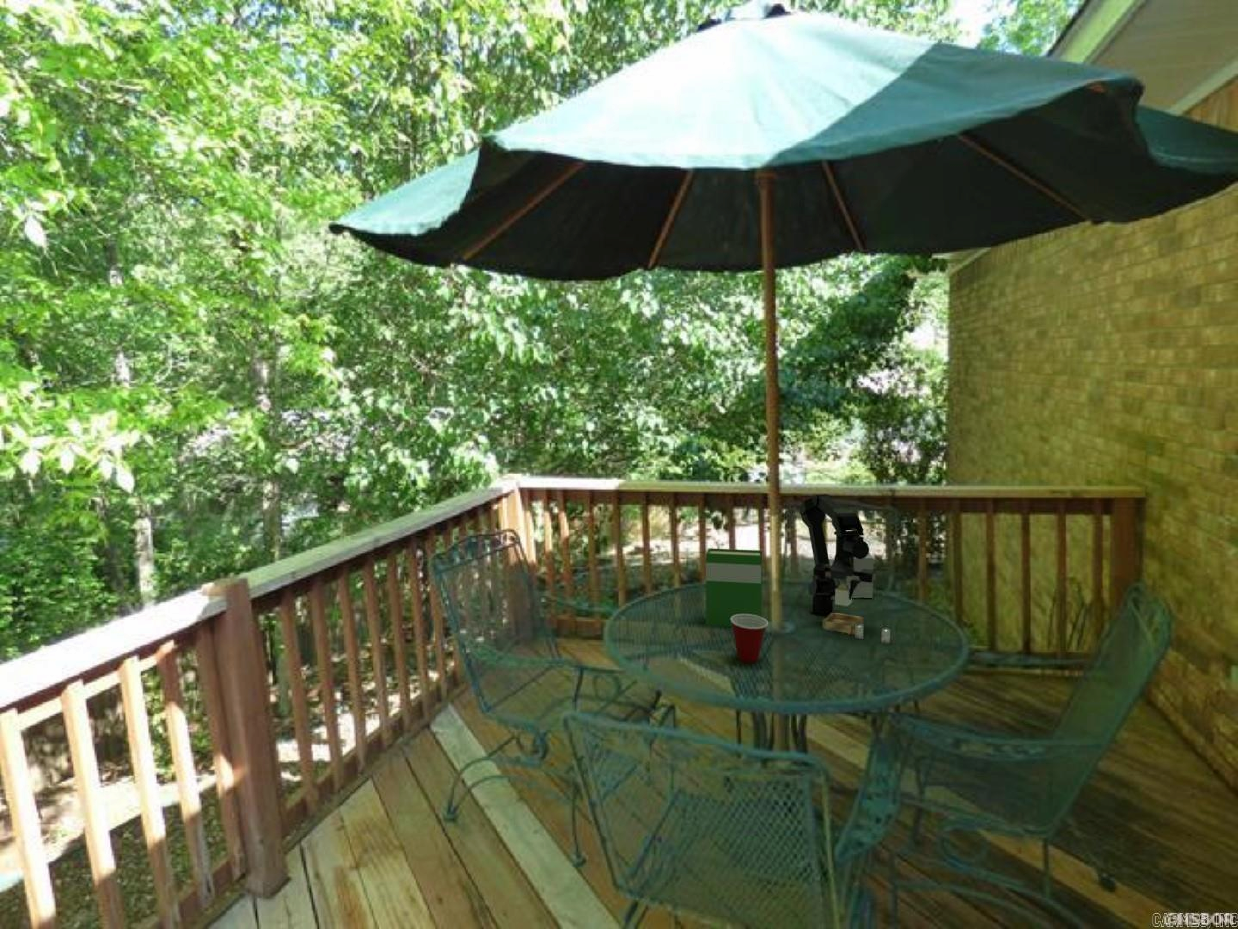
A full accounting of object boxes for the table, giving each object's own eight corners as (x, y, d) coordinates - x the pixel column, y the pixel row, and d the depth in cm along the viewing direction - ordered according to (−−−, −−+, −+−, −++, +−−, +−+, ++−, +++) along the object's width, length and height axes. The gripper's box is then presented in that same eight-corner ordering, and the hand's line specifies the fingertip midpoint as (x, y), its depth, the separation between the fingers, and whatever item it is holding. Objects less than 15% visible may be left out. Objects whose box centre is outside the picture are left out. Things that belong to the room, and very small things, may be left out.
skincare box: (868, 594, 281) (870, 552, 279) (873, 600, 274) (874, 557, 272) (845, 593, 281) (846, 551, 279) (849, 599, 274) (850, 556, 272)
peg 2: (880, 642, 232) (881, 630, 231) (882, 640, 234) (882, 627, 233) (888, 644, 231) (889, 631, 230) (890, 641, 233) (891, 629, 232)
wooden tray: (821, 629, 244) (821, 622, 244) (832, 619, 254) (832, 612, 253) (854, 635, 238) (854, 627, 238) (863, 624, 248) (864, 617, 248)
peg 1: (854, 638, 236) (854, 625, 236) (856, 635, 238) (856, 623, 238) (861, 639, 235) (862, 627, 234) (863, 637, 237) (864, 624, 236)
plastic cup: (759, 669, 213) (760, 628, 211) (723, 661, 218) (724, 621, 217) (773, 656, 222) (774, 617, 220) (738, 649, 228) (739, 611, 226)
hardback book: (761, 621, 253) (762, 550, 250) (760, 628, 246) (761, 556, 243) (708, 617, 257) (708, 548, 254) (705, 625, 249) (706, 553, 246)
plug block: (834, 604, 244) (835, 586, 243) (839, 600, 248) (839, 582, 247) (847, 606, 242) (848, 588, 241) (851, 602, 246) (852, 584, 245)
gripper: (808, 553, 241) (807, 600, 243) (868, 560, 231) (866, 610, 233) (819, 545, 250) (818, 591, 252) (877, 552, 240) (875, 600, 243)
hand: (843, 598), depth 245 cm, fingers closed on plug block, 4 cm apart
